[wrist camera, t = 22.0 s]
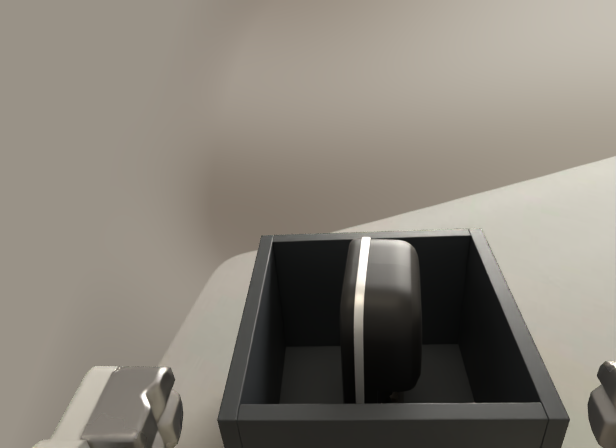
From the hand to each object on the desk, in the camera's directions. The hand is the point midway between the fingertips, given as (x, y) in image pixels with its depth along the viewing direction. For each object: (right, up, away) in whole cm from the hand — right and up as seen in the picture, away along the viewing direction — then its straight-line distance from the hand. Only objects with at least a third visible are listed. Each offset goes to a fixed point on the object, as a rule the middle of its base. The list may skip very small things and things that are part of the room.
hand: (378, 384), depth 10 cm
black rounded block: (+3, -9, +20) cm, 22 cm away
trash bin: (+3, -9, +21) cm, 23 cm away
